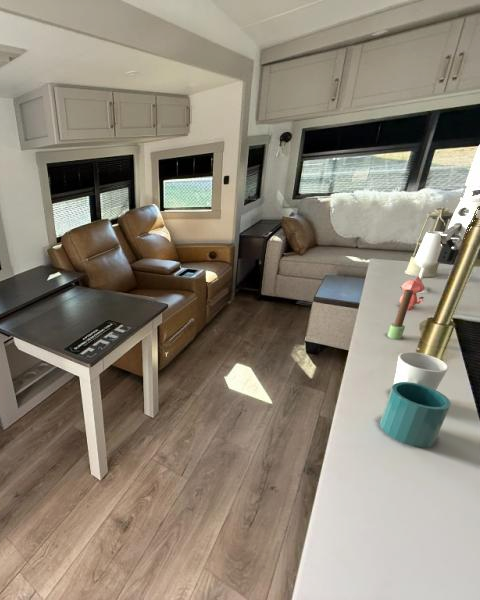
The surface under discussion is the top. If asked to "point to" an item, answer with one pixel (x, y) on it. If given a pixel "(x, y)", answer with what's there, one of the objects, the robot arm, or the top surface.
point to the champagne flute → (428, 252)
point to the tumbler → (414, 414)
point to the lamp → (436, 224)
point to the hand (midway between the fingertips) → (460, 260)
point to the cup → (420, 369)
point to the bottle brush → (400, 317)
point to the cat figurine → (416, 287)
